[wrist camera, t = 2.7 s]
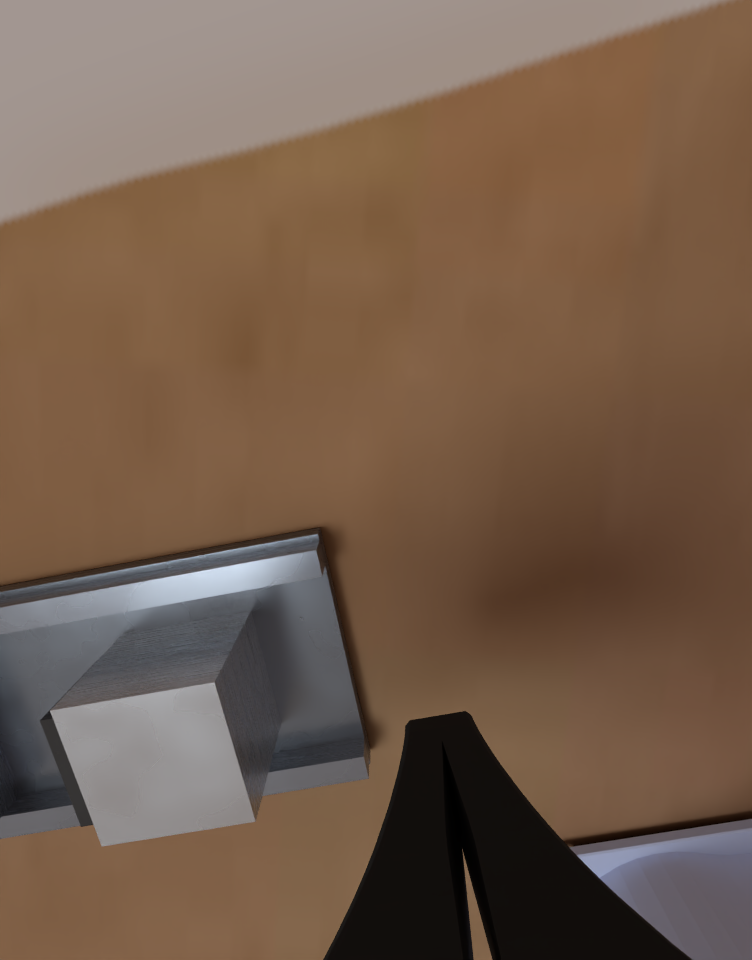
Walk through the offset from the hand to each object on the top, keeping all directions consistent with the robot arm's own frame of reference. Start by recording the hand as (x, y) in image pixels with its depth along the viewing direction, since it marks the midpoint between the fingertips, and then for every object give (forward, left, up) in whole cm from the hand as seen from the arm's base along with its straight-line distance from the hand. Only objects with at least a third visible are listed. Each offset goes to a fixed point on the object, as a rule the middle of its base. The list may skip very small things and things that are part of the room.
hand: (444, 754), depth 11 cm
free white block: (+7, 0, -5) cm, 8 cm away
